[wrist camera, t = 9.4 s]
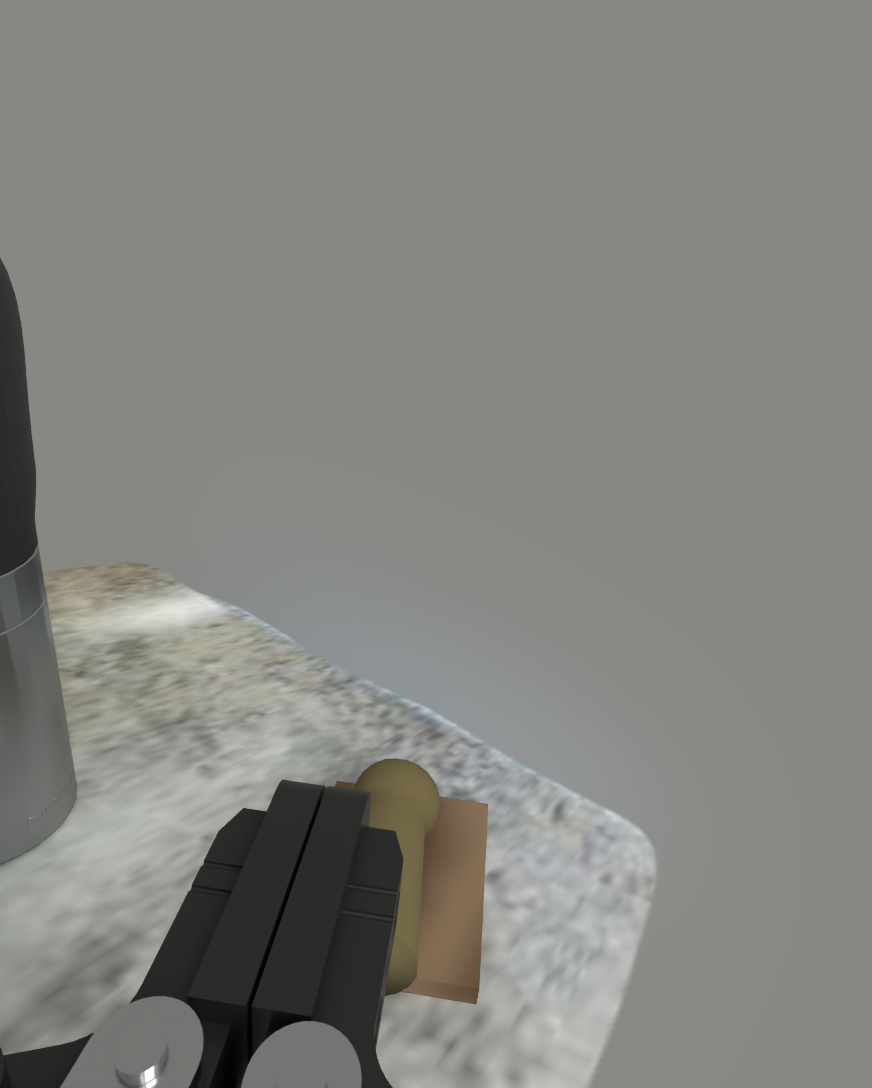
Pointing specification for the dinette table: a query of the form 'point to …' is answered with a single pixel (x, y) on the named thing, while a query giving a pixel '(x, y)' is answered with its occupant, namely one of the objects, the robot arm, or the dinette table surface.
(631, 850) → the dinette table surface
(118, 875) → the dinette table surface
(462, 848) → the walnut board
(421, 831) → the cork
